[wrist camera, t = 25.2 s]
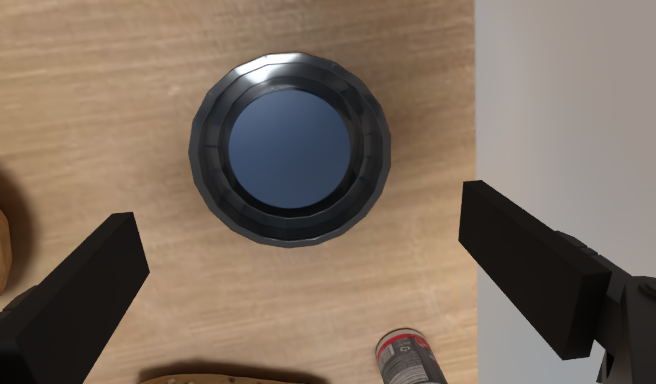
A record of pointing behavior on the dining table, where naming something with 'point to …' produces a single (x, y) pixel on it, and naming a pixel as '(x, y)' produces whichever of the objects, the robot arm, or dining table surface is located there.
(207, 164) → the bowl
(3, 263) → the potato
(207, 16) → the dining table surface
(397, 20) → the dining table surface
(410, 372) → the pill bottle
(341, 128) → the jar lid
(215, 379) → the bread
